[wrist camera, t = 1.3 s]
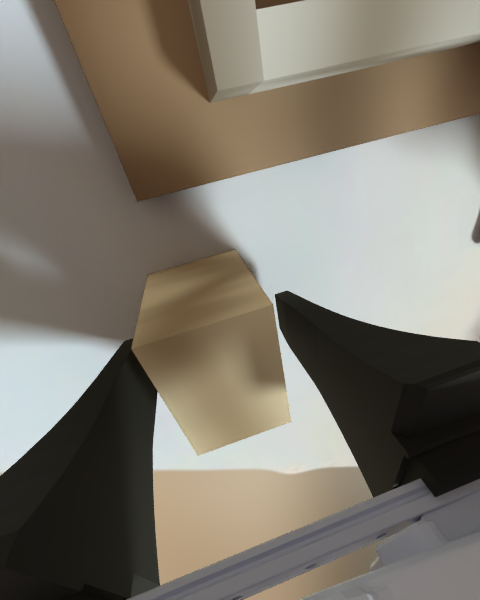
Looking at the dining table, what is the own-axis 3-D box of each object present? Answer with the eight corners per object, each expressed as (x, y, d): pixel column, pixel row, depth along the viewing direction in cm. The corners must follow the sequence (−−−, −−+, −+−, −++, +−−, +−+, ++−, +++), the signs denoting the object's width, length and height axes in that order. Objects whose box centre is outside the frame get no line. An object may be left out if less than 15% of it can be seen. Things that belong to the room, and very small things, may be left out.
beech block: (234, 248, 11) (272, 304, 7) (256, 343, 14) (291, 421, 10) (148, 273, 11) (131, 348, 6) (190, 365, 14) (197, 455, 10)
